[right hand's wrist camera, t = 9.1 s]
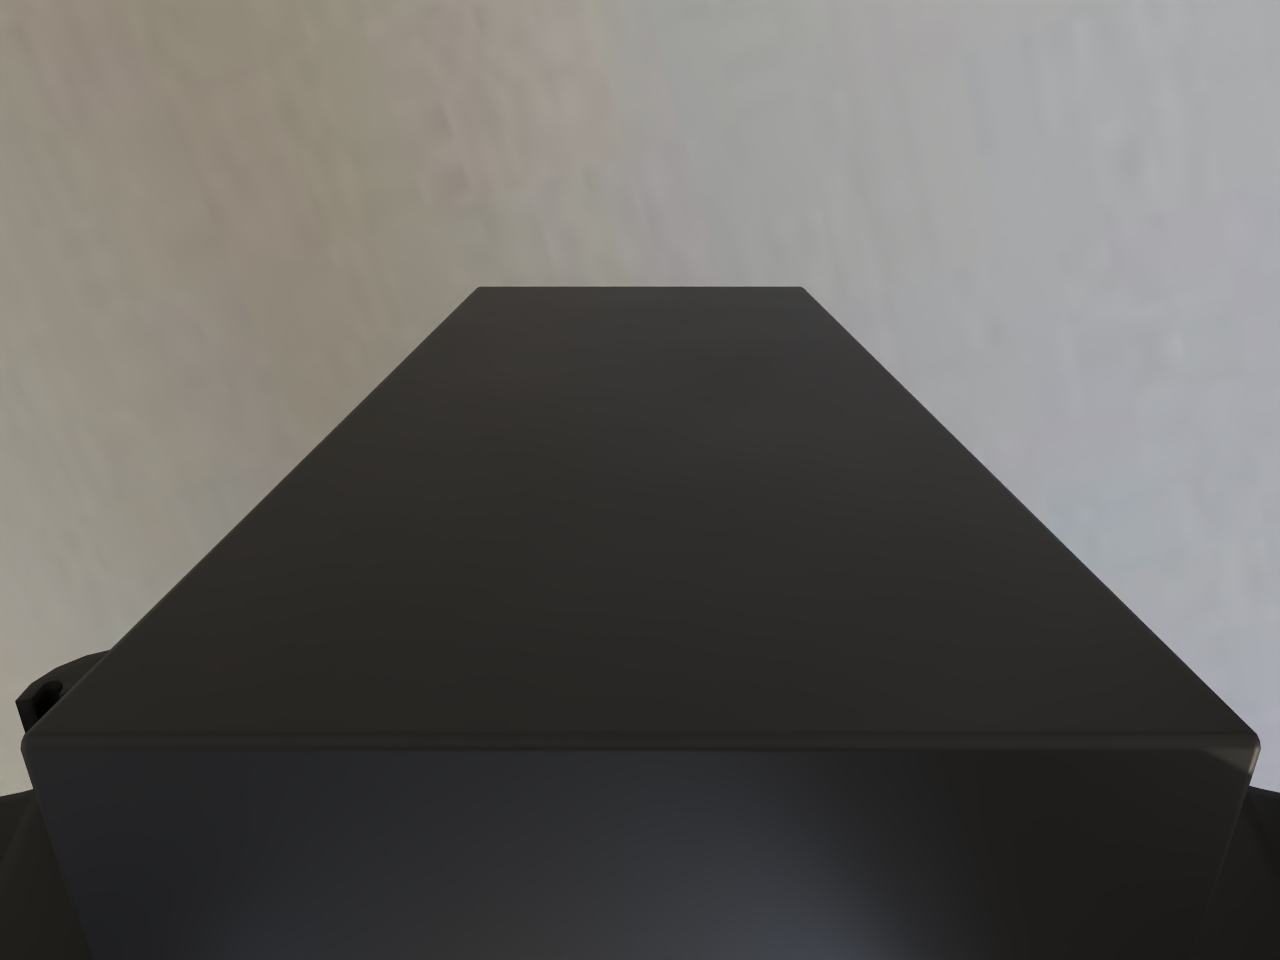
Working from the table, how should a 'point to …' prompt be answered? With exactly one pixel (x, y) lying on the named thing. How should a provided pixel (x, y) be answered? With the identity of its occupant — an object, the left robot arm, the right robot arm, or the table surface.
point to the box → (640, 679)
